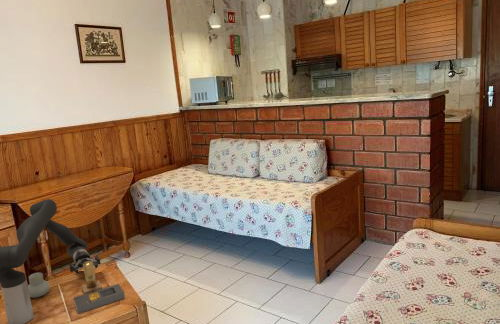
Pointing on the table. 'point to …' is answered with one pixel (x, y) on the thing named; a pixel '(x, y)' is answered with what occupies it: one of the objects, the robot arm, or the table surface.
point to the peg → (89, 274)
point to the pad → (86, 290)
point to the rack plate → (98, 298)
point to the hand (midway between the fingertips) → (87, 269)
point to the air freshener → (37, 285)
